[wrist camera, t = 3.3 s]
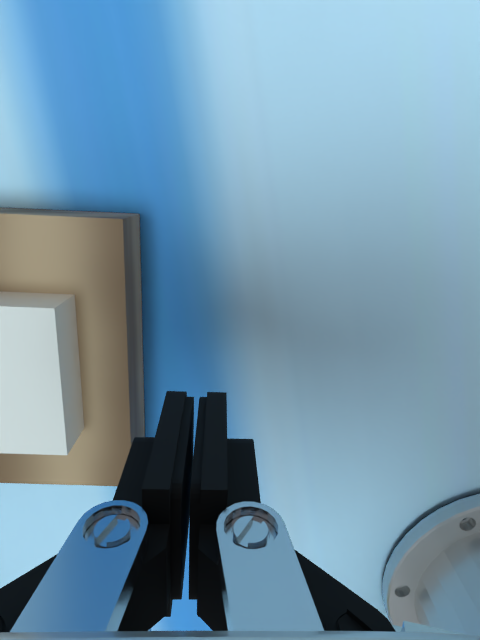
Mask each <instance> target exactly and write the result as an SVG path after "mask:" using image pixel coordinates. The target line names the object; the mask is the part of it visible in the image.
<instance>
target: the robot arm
mask: <svg viewBox="0 0 480 640" xmlns="http://www.w3.org/2000/svg"><path fill="white" fill-rule="evenodd" d="M193 429H194V397H187V392H177V391H167V393H166V396H165V400H164V404H163V408H162V412H161V416H160V420H159V424H158V428H157V431H156V435H155V437H135V438H134V440H133V442H132V445H131V448H130V451H129V454H128V457H127V460H126V463H125V466H124V469H123V472H122V475H121V478H120V481H119V484H118V487H117V490H116V493H115V496H114V498H113V501H109V502H104V503H102V504H99V505H97V506H95V507H93V508H91V509H90V510H89V511H87V512H86V513H85V514H84V515H83V516H82V517H81V518H80V519H79V521H78V522H77V524H76V525H75V527H74V529H73V530H72V532H71V533H70V535H69V537H68V538H67V540H66V542H65V543H64V545H63V546H62V548H61V550H60V551H59V553H58V554H57V555H55V556H54V557H52V558H50V559H49V560H47V561H45V562H44V563H42V564H40V565H39V566H37V567H35V568H34V569H32V570H30V571H29V572H27V573H25V574H24V575H22V576H20V577H19V578H17V579H16V580H14V581H12V582H11V583H9V584H7V585H6V586H4V587H2V588H1V589H0V640H480V494H477V495H473V496H469V497H466V498H462V499H459V500H457V501H455V502H452V503H450V504H448V505H446V506H444V507H441V508H439V509H438V510H436V511H435V512H433V513H432V514H430V515H429V516H427V517H425V518H424V519H422V520H421V521H420V522H419V523H418V524H417V525H416V526H414V527H413V528H412V529H411V530H410V531H409V532H408V533H407V534H406V535H405V536H404V537H403V539H402V540H401V541H400V543H399V544H398V545H397V546H396V548H395V549H394V551H393V553H392V555H391V557H390V559H389V561H388V563H387V565H386V569H385V573H384V577H383V581H382V597H383V601H384V605H385V608H386V612H387V614H388V617H389V619H390V622H391V623H390V622H389V620H388V619H387V618H386V617H385V616H384V615H383V614H381V613H380V612H379V611H378V610H377V609H376V608H374V607H373V606H372V605H370V604H369V603H367V602H366V601H365V600H363V599H362V598H361V597H359V596H358V595H356V594H355V593H354V592H352V591H351V590H349V589H348V588H347V587H345V586H344V585H343V584H341V583H340V582H338V581H337V580H336V579H334V578H333V577H332V576H330V575H329V574H327V573H326V572H325V571H323V570H322V569H321V568H319V567H318V566H316V565H315V564H314V563H312V562H311V561H309V560H308V559H307V558H305V557H304V556H303V555H301V554H300V553H298V552H297V551H296V550H294V547H293V545H292V542H291V539H290V537H289V534H288V531H287V528H286V526H285V523H284V521H283V520H282V518H281V516H280V515H279V514H278V513H277V512H276V511H275V510H274V509H273V508H271V507H269V506H267V505H265V504H261V502H260V493H259V484H258V476H257V467H256V458H255V449H254V442H253V439H227V402H226V393H221V392H207V397H200V399H199V408H198V418H197V427H196V437H195V447H194V456H193ZM189 517H190V534H189V599H197V615H198V616H199V617H200V618H201V619H202V620H203V621H204V622H205V623H206V624H207V625H208V626H209V627H210V628H211V629H212V630H213V631H151V628H152V627H153V626H154V625H155V624H156V623H157V622H159V621H160V620H161V619H162V618H163V617H171V608H172V600H173V599H181V598H182V589H183V579H184V569H185V558H186V548H187V538H188V527H189ZM391 624H392V625H391Z"/></svg>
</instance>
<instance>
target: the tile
mask: <svg viewBox="0 0 480 640" xmlns="http://www.w3.org/2000/svg"><path fill="white" fill-rule="evenodd" d="M83 429H84V417H83V403H82V390H81V376H80V362H79V348H78V334H77V321H76V307H75V294H51V293H26V292H1V291H0V453H8V454H40V455H68V453H69V452H70V450H71V449H72V447H73V445H74V444H75V442H76V440H77V439H78V437H79V436H80V434H81V432H82V431H83Z"/></svg>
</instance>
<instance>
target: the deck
mask: <svg viewBox="0 0 480 640" xmlns="http://www.w3.org/2000/svg"><path fill="white" fill-rule="evenodd" d="M0 291H1V292H26V293H51V294H75V307H76V321H77V334H78V348H79V362H80V376H81V390H82V403H83V417H84V429H83V431H82V432H81V434H80V436H79V437H78V439H77V440H76V442H75V444H74V445H73V447H72V449H71V450H70V452H69V453H68V455H40V454H8V453H0V483H28V484H62V485H97V486H118V484H119V481H120V478H121V475H122V472H123V469H124V466H125V463H126V460H127V457H128V454H129V451H130V448H131V445H132V442H133V440H134V438H135V437H145V417H144V376H143V335H142V293H141V252H140V214H134V213H112V212H90V211H68V210H46V209H24V208H2V207H0Z"/></svg>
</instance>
